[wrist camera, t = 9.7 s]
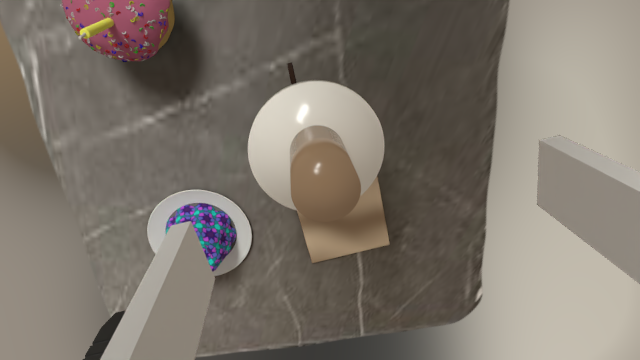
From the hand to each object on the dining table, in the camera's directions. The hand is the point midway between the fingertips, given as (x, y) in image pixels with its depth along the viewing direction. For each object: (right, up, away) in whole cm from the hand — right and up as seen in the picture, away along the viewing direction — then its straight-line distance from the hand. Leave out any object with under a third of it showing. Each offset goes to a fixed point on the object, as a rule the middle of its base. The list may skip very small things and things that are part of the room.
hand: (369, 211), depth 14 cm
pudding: (-16, -5, +31) cm, 36 cm away
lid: (-2, +4, +17) cm, 18 cm away
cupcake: (-19, +17, +21) cm, 33 cm away
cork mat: (+1, -3, +32) cm, 32 cm away
